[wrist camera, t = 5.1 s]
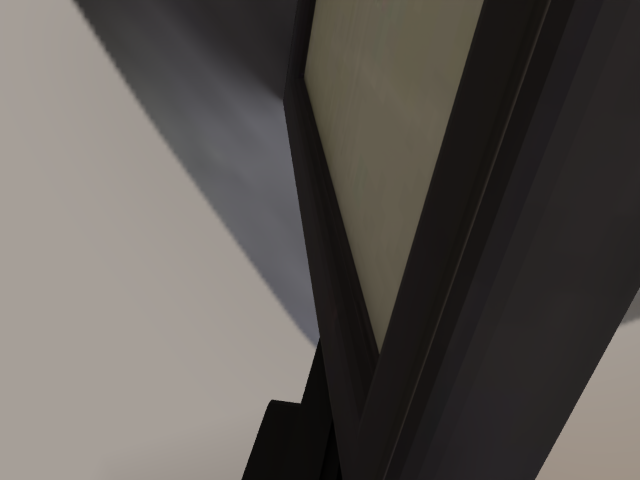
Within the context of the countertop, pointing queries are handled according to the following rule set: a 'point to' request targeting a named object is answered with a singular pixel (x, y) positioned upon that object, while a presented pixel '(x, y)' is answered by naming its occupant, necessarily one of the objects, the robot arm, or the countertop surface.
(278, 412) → the robot arm
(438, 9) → the picture frame
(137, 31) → the countertop surface
